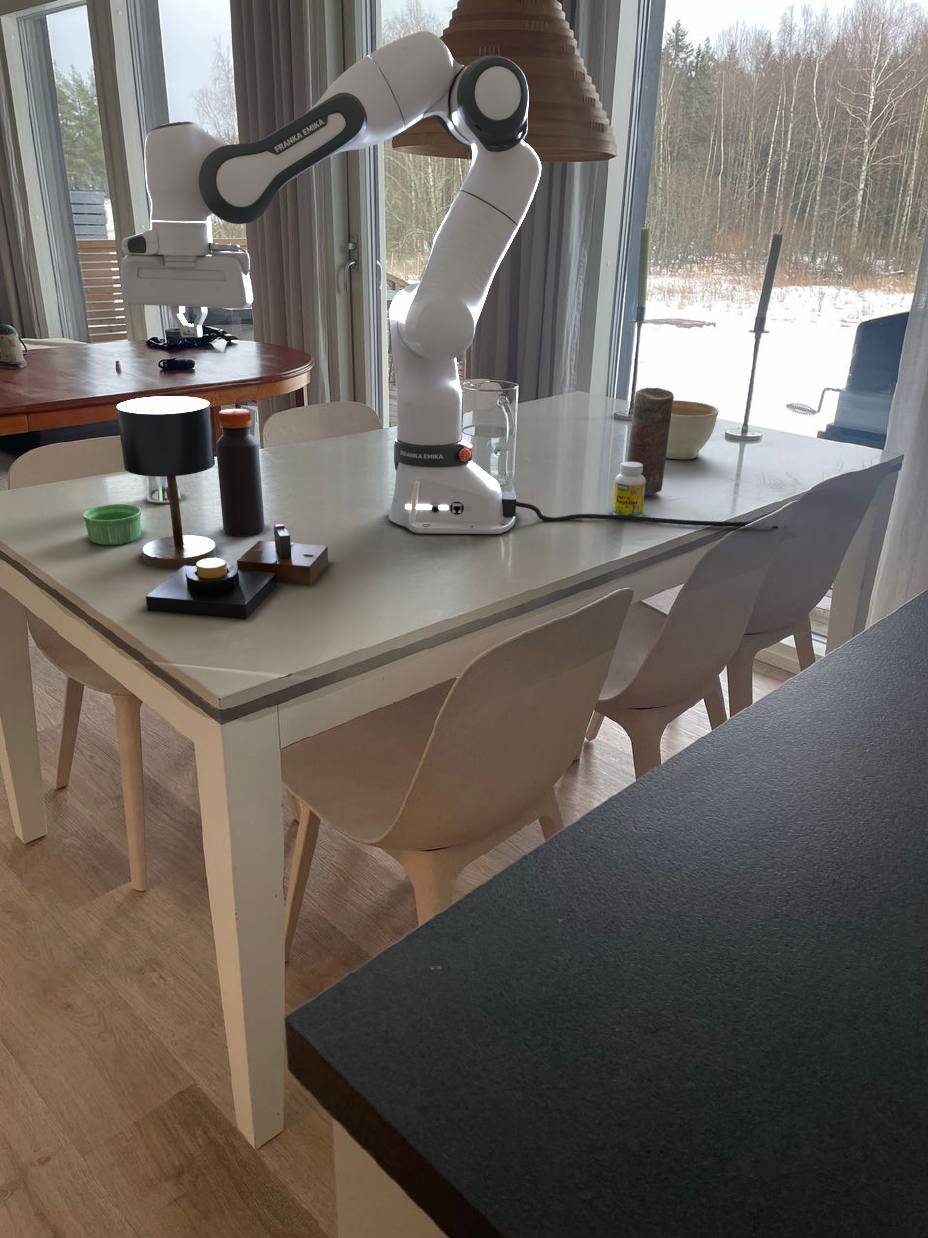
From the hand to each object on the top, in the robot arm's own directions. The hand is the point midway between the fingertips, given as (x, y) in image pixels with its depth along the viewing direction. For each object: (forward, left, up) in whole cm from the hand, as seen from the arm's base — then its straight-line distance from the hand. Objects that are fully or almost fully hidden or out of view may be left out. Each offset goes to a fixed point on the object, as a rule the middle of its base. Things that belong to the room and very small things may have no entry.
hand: (191, 336), depth 147 cm
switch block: (-14, +31, -31) cm, 46 cm away
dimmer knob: (-20, +19, -28) cm, 39 cm away
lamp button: (-14, +31, -27) cm, 44 cm away
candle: (-74, -36, -31) cm, 88 cm away
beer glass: (+14, -12, -31) cm, 36 cm away
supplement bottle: (-71, -21, -31) cm, 80 cm away
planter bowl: (-82, -70, -31) cm, 112 cm away
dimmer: (-20, +19, -31) cm, 41 cm away
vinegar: (-7, +2, -31) cm, 32 cm away
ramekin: (+12, +10, -31) cm, 35 cm away
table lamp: (-2, +16, -31) cm, 35 cm away
